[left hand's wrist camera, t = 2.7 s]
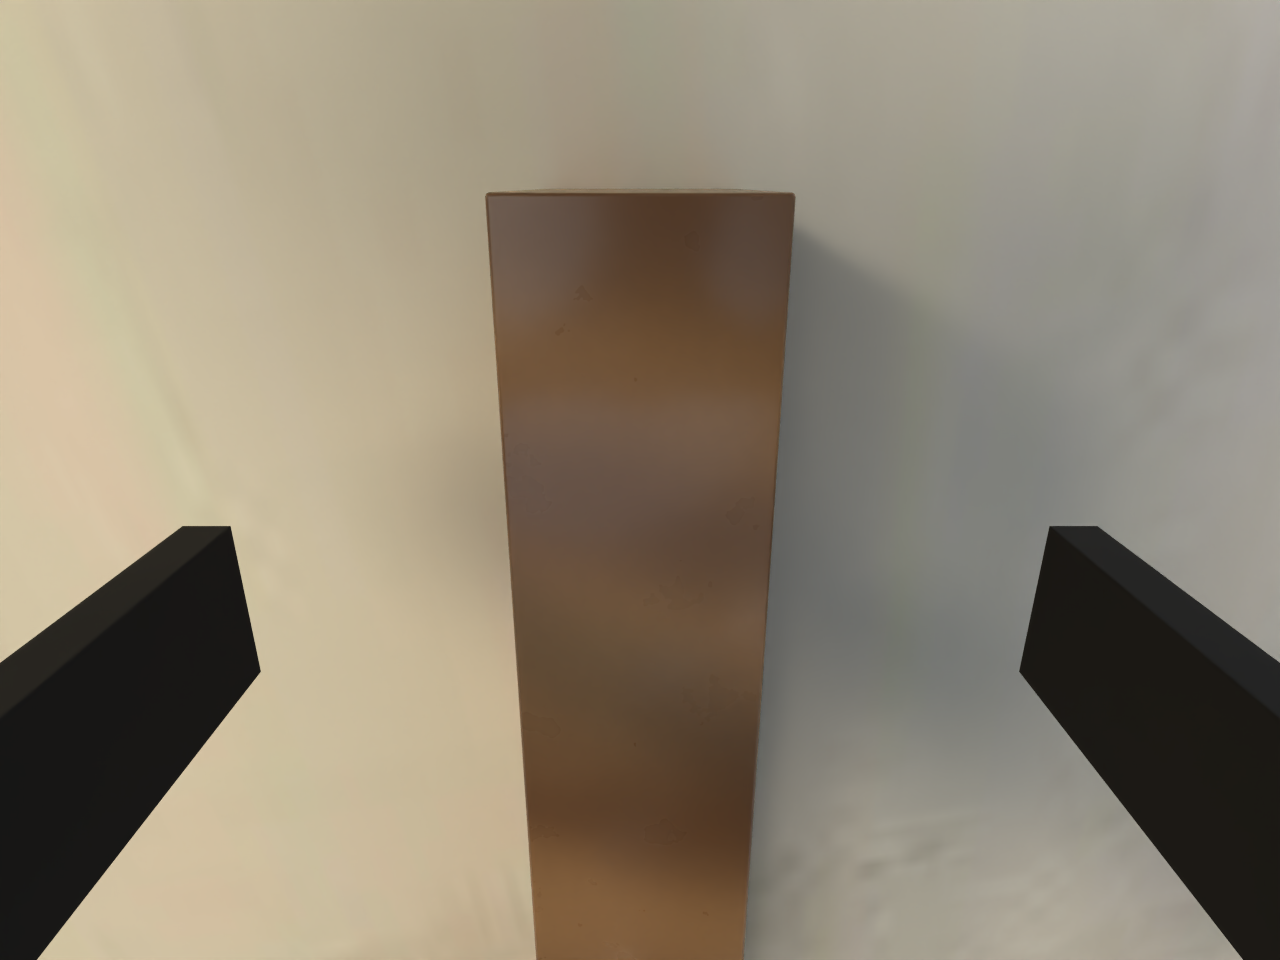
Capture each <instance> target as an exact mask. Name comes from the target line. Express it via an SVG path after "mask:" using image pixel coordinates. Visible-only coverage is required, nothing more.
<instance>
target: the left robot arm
mask: <svg viewBox="0 0 1280 960" xmlns="http://www.w3.org/2000/svg"><path fill="white" fill-rule="evenodd" d="M260 672H261V670H260V666H259V661H258V656H257V651H256V646H255V642H254V637H253V632H252V627H251V622H250V618H249V613H248V608H247V603H246V598H245V594H244V589H243V584H242V579H241V574H240V570H239V565H238V560H237V555H236V550H235V546H234V541H233V536H232V531H231V526H182V527H181V528H180V529H178V530H177V531H176V532H174V533H173V534H172V535H170V536H169V537H168V538H166V539H165V540H164V541H162V542H161V543H160V544H158V545H157V546H156V547H154V548H153V549H152V550H150V551H149V552H148V553H146V554H145V555H144V556H142V557H141V558H140V559H138V560H137V561H136V562H134V563H133V564H132V565H130V566H129V567H128V568H126V569H125V570H124V571H122V572H121V573H120V574H118V575H117V576H116V577H114V578H113V579H112V580H110V581H109V582H108V583H106V584H105V585H104V586H102V587H101V588H100V589H98V590H97V591H96V592H94V593H93V594H92V595H90V596H89V597H88V598H86V599H85V600H84V601H82V602H81V603H80V604H78V605H77V606H76V607H74V608H73V609H72V610H70V611H69V612H68V613H66V614H65V615H64V616H62V617H61V618H60V619H58V620H57V621H56V622H54V623H53V624H52V625H50V626H49V627H48V628H46V629H45V630H44V631H42V632H41V633H40V634H38V635H37V636H36V637H34V638H33V639H32V640H30V641H29V642H28V643H26V644H25V645H23V646H22V647H21V648H19V649H18V650H17V651H15V652H14V653H13V654H11V655H10V656H9V657H7V658H6V659H5V660H3V661H2V662H1V663H0V960H37V959H38V958H39V956H40V955H41V954H42V952H43V951H44V950H45V949H46V947H47V946H48V945H49V943H50V942H51V941H52V940H53V938H54V937H55V936H56V934H57V933H58V932H59V931H60V929H61V928H62V927H63V925H64V924H65V923H66V921H67V920H68V919H69V918H70V916H71V915H72V914H73V912H74V911H75V910H76V909H77V907H78V906H79V905H80V903H81V902H82V901H83V900H84V898H85V897H86V896H87V894H88V893H89V892H90V891H91V889H92V888H93V887H94V885H95V884H96V883H97V882H98V880H99V879H100V878H101V876H102V875H103V874H104V873H105V871H106V870H107V869H108V867H109V866H110V865H111V864H112V862H113V861H114V860H115V858H116V857H117V856H118V855H119V853H120V852H121V851H122V849H123V848H124V847H125V846H126V844H127V843H128V842H129V840H130V839H131V838H132V837H133V835H134V834H135V833H136V831H137V830H138V829H139V828H140V826H141V825H142V824H143V822H144V821H145V820H146V819H147V817H148V816H149V815H150V813H151V812H152V811H153V810H154V808H155V807H156V806H157V804H158V803H159V802H160V801H161V799H162V798H163V797H164V795H165V794H166V793H167V792H168V790H169V789H170V788H171V786H172V785H173V784H174V783H175V781H176V780H177V779H178V777H179V776H180V775H181V774H182V772H183V771H184V770H185V768H186V767H187V766H188V765H189V763H190V762H191V761H192V759H193V758H194V757H195V756H196V754H197V753H198V752H199V750H200V749H201V748H202V747H203V745H204V744H205V743H206V741H207V740H208V739H209V738H210V736H211V735H212V734H213V732H214V731H215V730H216V728H217V727H218V726H219V725H220V723H221V722H222V721H223V719H224V718H225V717H226V716H227V714H228V713H229V712H230V710H231V709H232V708H233V707H234V705H235V704H236V703H237V701H238V700H239V699H240V698H241V696H242V695H243V694H244V692H245V691H246V690H247V689H248V687H249V686H250V685H251V683H252V682H253V681H254V680H255V678H256V677H257V676H258V674H259V673H260ZM1019 672H1020V673H1021V674H1022V676H1023V677H1024V678H1025V680H1026V681H1027V682H1028V683H1029V685H1030V686H1031V687H1032V689H1033V690H1034V691H1035V692H1036V694H1037V695H1038V696H1039V698H1040V699H1041V700H1042V701H1043V703H1044V704H1045V705H1046V707H1047V708H1048V709H1049V710H1050V712H1051V713H1052V714H1053V716H1054V717H1055V718H1056V719H1057V721H1058V722H1059V723H1060V725H1061V726H1062V727H1063V729H1064V730H1065V731H1066V732H1067V734H1068V735H1069V736H1070V738H1071V739H1072V740H1073V741H1074V743H1075V744H1076V745H1077V747H1078V748H1079V749H1080V750H1081V752H1082V753H1083V754H1084V756H1085V757H1086V758H1087V759H1088V761H1089V762H1090V763H1091V765H1092V766H1093V767H1094V768H1095V770H1096V771H1097V772H1098V774H1099V775H1100V776H1101V777H1102V779H1103V780H1104V781H1105V783H1106V784H1107V785H1108V786H1109V788H1110V789H1111V790H1112V792H1113V793H1114V794H1115V795H1116V797H1117V798H1118V799H1119V801H1120V802H1121V803H1122V804H1123V806H1124V807H1125V808H1126V810H1127V811H1128V812H1129V813H1130V815H1131V816H1132V817H1133V819H1134V820H1135V821H1136V822H1137V824H1138V825H1139V826H1140V828H1141V829H1142V830H1143V831H1144V833H1145V834H1146V835H1147V837H1148V838H1149V839H1150V840H1151V842H1152V843H1153V844H1154V846H1155V847H1156V848H1157V849H1158V851H1159V852H1160V853H1161V855H1162V856H1163V857H1164V858H1165V860H1166V861H1167V862H1168V864H1169V865H1170V866H1171V867H1172V869H1173V870H1174V871H1175V873H1176V874H1177V875H1178V876H1179V878H1180V879H1181V880H1182V882H1183V883H1184V884H1185V885H1186V887H1187V888H1188V889H1189V891H1190V892H1191V893H1192V894H1193V896H1194V897H1195V898H1196V900H1197V901H1198V902H1199V903H1200V905H1201V906H1202V907H1203V909H1204V910H1205V911H1206V912H1207V914H1208V915H1209V916H1210V918H1211V919H1212V920H1213V921H1214V923H1215V924H1216V925H1217V927H1218V928H1219V929H1220V931H1221V932H1222V933H1223V934H1224V936H1225V937H1226V938H1227V940H1228V941H1229V942H1230V943H1231V945H1232V946H1233V947H1234V949H1235V950H1236V951H1237V952H1238V954H1239V955H1240V956H1241V958H1242V959H1243V960H1280V663H1279V662H1278V661H1277V660H1275V659H1274V658H1273V657H1271V656H1270V655H1269V654H1267V653H1266V652H1265V651H1263V650H1262V649H1261V648H1259V647H1258V646H1257V645H1255V644H1254V643H1252V642H1251V641H1250V640H1248V639H1247V638H1246V637H1244V636H1243V635H1242V634H1240V633H1239V632H1238V631H1236V630H1235V629H1234V628H1232V627H1231V626H1230V625H1228V624H1227V623H1226V622H1224V621H1223V620H1222V619H1220V618H1219V617H1218V616H1216V615H1215V614H1214V613H1212V612H1211V611H1210V610H1208V609H1207V608H1206V607H1204V606H1203V605H1202V604H1200V603H1199V602H1198V601H1196V600H1195V599H1194V598H1192V597H1191V596H1190V595H1188V594H1187V593H1186V592H1184V591H1183V590H1182V589H1180V588H1179V587H1178V586H1176V585H1175V584H1174V583H1172V582H1171V581H1170V580H1168V579H1167V578H1166V577H1164V576H1163V575H1162V574H1160V573H1159V572H1158V571H1156V570H1155V569H1154V568H1152V567H1151V566H1150V565H1148V564H1147V563H1146V562H1144V561H1143V560H1142V559H1140V558H1139V557H1138V556H1136V555H1135V554H1134V553H1132V552H1131V551H1130V550H1128V549H1127V548H1126V547H1124V546H1123V545H1122V544H1120V543H1119V542H1118V541H1116V540H1115V539H1114V538H1112V537H1111V536H1110V535H1108V534H1107V533H1106V532H1104V531H1103V530H1102V529H1100V528H1099V527H1098V526H1049V531H1048V536H1047V541H1046V546H1045V550H1044V555H1043V560H1042V565H1041V570H1040V574H1039V579H1038V584H1037V589H1036V594H1035V598H1034V603H1033V608H1032V613H1031V618H1030V622H1029V627H1028V632H1027V637H1026V642H1025V646H1024V651H1023V656H1022V661H1021V666H1020V670H1019Z"/></svg>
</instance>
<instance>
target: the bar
mask: <svg viewBox="0 0 1280 960" xmlns="http://www.w3.org/2000/svg"><path fill="white" fill-rule="evenodd" d="M485 201H486V216H487V231H488V246H489V261H490V276H491V290H492V305H493V320H494V335H495V350H496V365H497V380H498V395H499V410H500V425H501V439H502V454H503V469H504V484H505V499H506V514H507V529H508V544H509V559H510V574H511V588H512V603H513V618H514V633H515V648H516V663H517V678H518V693H519V708H520V723H521V737H522V752H523V767H524V782H525V797H526V812H527V827H528V842H529V857H530V872H531V886H532V901H533V916H534V931H535V946H536V960H744V946H745V931H746V916H747V902H748V887H749V872H750V858H751V843H752V828H753V814H754V799H755V784H756V769H757V755H758V740H759V725H760V711H761V696H762V681H763V667H764V652H765V637H766V623H767V608H768V593H769V579H770V564H771V549H772V534H773V520H774V505H775V490H776V476H777V461H778V446H779V432H780V417H781V402H782V388H783V373H784V358H785V343H786V329H787V314H788V299H789V285H790V270H791V255H792V241H793V226H794V211H795V194H794V193H790V192H774V191H757V190H741V189H539V190H522V191H505V192H489V193H487V194H486V196H485Z"/></svg>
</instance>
